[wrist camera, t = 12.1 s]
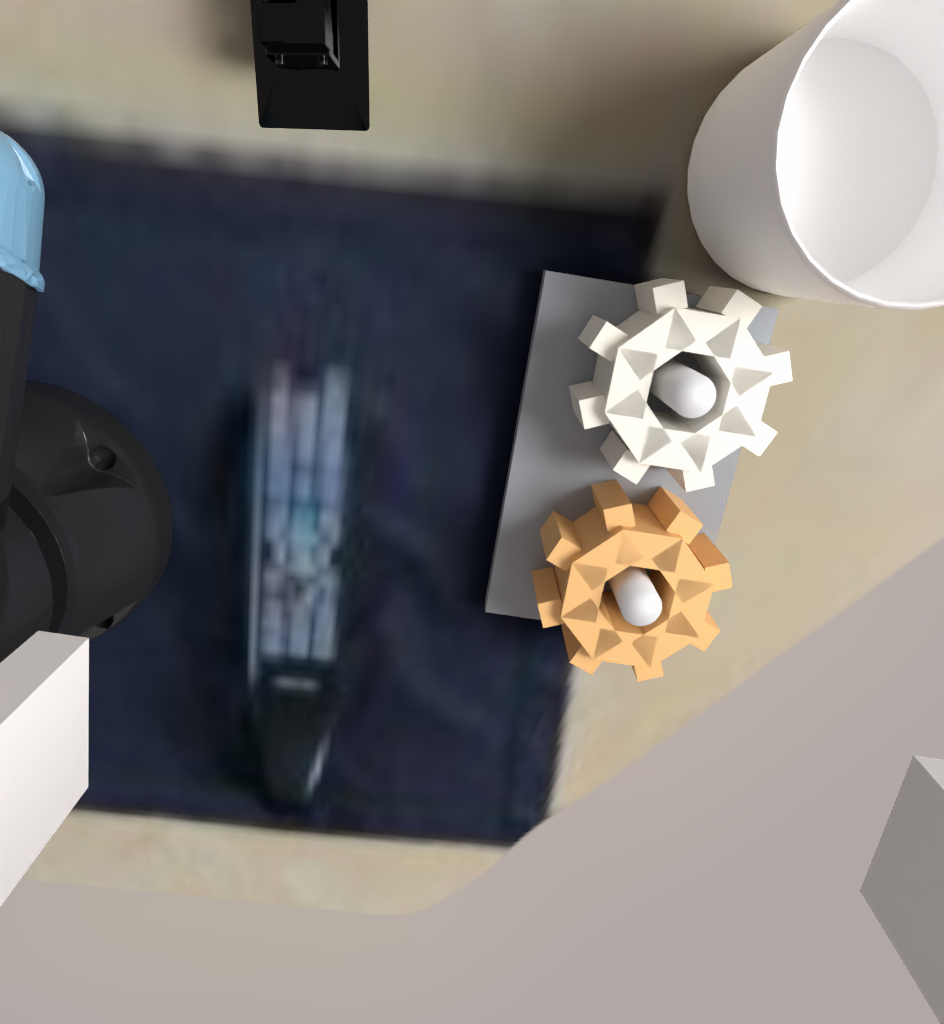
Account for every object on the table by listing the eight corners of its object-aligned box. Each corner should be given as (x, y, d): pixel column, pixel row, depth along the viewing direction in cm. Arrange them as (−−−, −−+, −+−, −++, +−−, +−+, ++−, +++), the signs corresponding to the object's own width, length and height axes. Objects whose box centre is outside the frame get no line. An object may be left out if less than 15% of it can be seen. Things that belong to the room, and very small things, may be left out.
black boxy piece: (228, -133, 35) (193, -187, 31) (387, -130, 35) (375, -184, 31) (248, 164, 39) (219, 152, 35) (391, 166, 39) (381, 155, 35)
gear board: (484, 601, 46) (486, 663, 39) (543, 270, 40) (557, 272, 33) (682, 629, 47) (719, 696, 40) (768, 307, 41) (829, 317, 34)
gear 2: (520, 627, 45) (526, 671, 40) (551, 469, 42) (560, 496, 37) (682, 650, 45) (706, 696, 41) (724, 495, 42) (755, 525, 38)
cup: (963, 80, 37) (1175, 2, 26) (865, 320, 41) (1015, 344, 30) (733, 10, 37) (849, -102, 25) (654, 262, 40) (724, 263, 29)
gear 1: (555, 451, 42) (565, 476, 37) (591, 266, 39) (607, 267, 34) (729, 478, 42) (761, 507, 37) (778, 297, 39) (820, 302, 34)
